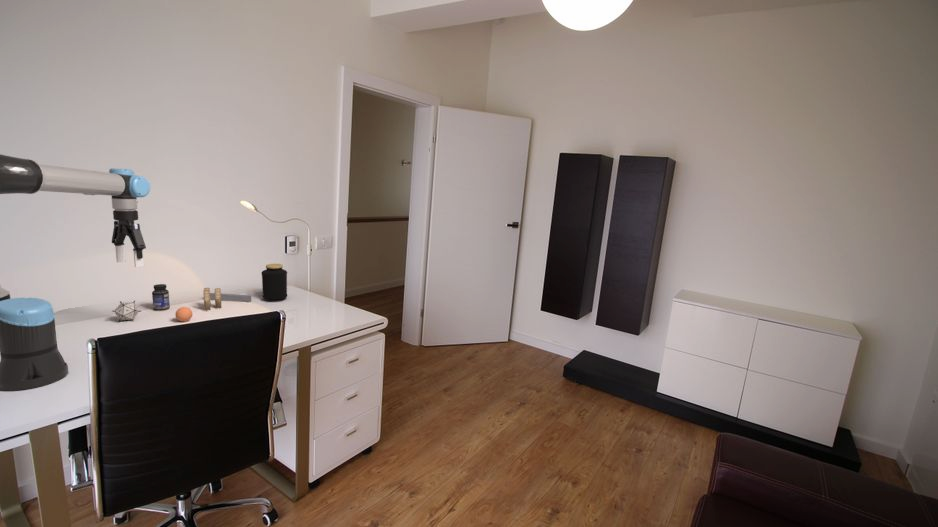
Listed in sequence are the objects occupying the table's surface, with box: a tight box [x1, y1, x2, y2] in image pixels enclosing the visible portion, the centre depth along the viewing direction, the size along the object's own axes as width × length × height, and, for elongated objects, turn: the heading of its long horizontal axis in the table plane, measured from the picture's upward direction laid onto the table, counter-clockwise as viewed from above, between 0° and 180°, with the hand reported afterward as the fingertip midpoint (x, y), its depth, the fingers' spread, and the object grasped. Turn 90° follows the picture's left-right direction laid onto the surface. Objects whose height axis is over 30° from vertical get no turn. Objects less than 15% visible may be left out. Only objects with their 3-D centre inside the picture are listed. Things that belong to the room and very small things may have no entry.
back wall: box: [210, 292, 252, 303], centre depth 215 cm, size 2×22×3 cm, turn 89°
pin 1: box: [203, 287, 212, 308], centre depth 202 cm, size 2×2×9 cm
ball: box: [175, 306, 194, 322], centre depth 182 cm, size 6×6×6 cm
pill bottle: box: [151, 283, 171, 312], centre depth 195 cm, size 6×6×11 cm
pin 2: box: [214, 288, 222, 309], centre depth 202 cm, size 2×2×9 cm
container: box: [261, 263, 289, 302], centre depth 219 cm, size 12×12×18 cm
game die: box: [111, 300, 142, 322], centre depth 179 cm, size 9×8×10 cm
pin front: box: [203, 290, 211, 311], centre depth 197 cm, size 2×2×9 cm
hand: (130, 264), depth 171 cm, fingers open, 13 cm apart
